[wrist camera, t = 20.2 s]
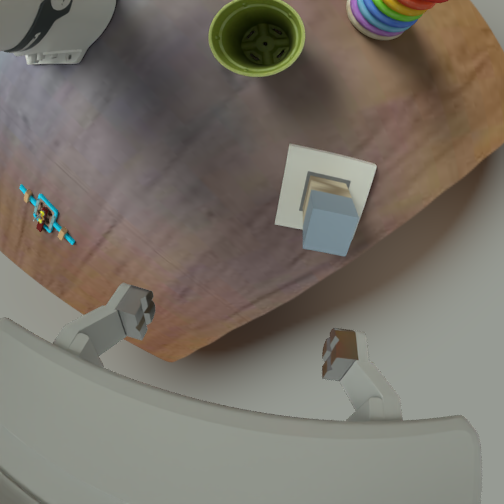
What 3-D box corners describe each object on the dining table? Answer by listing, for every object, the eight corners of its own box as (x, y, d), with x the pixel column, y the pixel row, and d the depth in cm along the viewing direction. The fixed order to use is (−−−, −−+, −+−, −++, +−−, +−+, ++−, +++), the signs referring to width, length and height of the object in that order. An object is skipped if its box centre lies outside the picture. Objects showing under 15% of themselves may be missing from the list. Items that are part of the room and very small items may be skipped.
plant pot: (274, 91, 31) (267, 94, 24) (214, 54, 29) (190, 49, 22) (318, 39, 26) (324, 27, 19) (255, 1, 24) (243, -19, 17)
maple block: (302, 208, 39) (302, 225, 35) (310, 175, 36) (311, 189, 32) (336, 215, 38) (340, 233, 34) (346, 183, 35) (352, 198, 31)
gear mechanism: (70, 253, 55) (80, 231, 50) (56, 267, 50) (65, 245, 46) (19, 199, 48) (26, 172, 44) (5, 210, 44) (9, 183, 39)
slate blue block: (302, 225, 35) (302, 248, 31) (311, 189, 32) (312, 208, 28) (340, 233, 34) (345, 256, 30) (351, 198, 31) (359, 218, 27)
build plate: (275, 220, 42) (274, 224, 41) (289, 143, 35) (289, 145, 34) (351, 236, 41) (352, 240, 40) (374, 163, 34) (377, 166, 33)
